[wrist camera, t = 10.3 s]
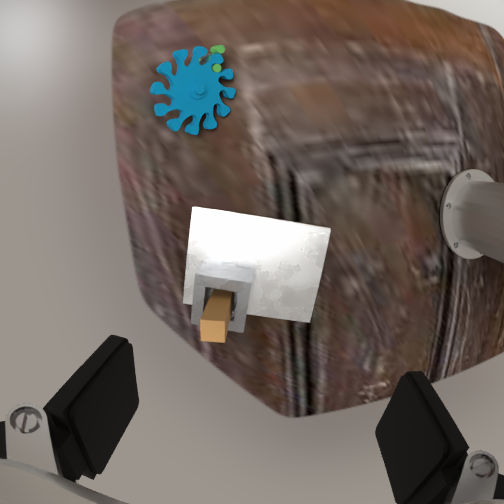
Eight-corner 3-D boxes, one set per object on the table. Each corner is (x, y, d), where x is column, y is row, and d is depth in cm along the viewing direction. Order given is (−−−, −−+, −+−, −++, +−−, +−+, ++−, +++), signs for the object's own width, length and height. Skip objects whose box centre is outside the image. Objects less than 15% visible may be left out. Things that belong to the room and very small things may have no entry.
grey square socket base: (329, 227, 34) (342, 237, 29) (308, 319, 37) (315, 342, 32) (194, 206, 34) (181, 211, 29) (184, 300, 37) (172, 320, 31)
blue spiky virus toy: (209, 151, 31) (136, 106, 24) (184, 144, 35) (119, 106, 27) (257, 74, 30) (198, 20, 23) (227, 75, 34) (172, 31, 26)
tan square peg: (234, 283, 35) (224, 321, 26) (234, 300, 36) (224, 342, 26) (216, 282, 36) (200, 319, 26) (216, 299, 36) (200, 340, 26)
